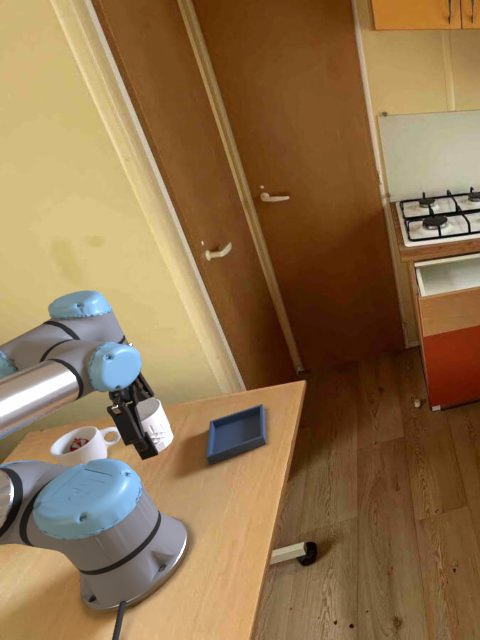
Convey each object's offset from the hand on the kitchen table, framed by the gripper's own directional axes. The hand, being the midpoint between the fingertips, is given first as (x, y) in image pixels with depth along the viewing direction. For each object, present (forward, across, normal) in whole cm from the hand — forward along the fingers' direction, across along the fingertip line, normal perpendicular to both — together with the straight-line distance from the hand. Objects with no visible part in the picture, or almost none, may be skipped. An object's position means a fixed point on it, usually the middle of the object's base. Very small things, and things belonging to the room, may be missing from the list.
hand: (154, 442), depth 94 cm
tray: (+7, 0, -15) cm, 16 cm away
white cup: (+1, 0, 0) cm, 1 cm away
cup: (+7, +8, +14) cm, 18 cm away
